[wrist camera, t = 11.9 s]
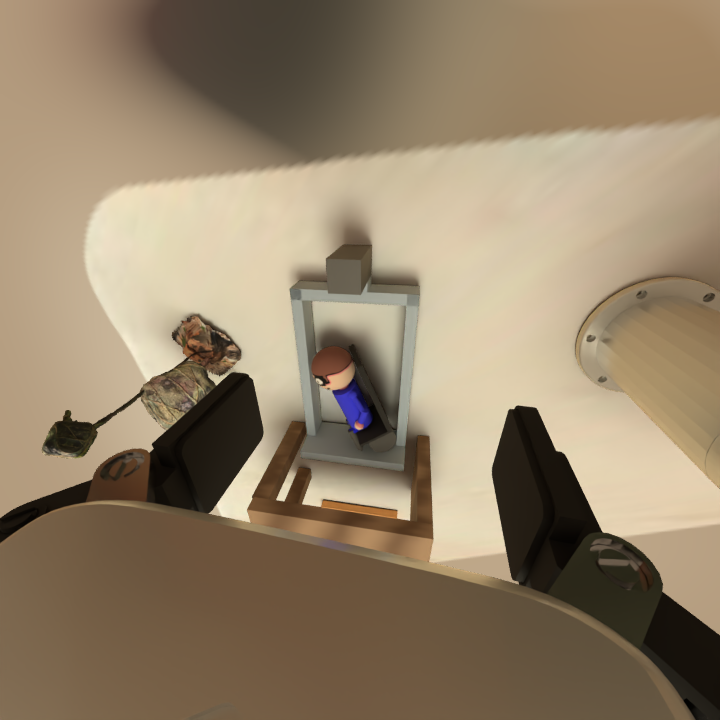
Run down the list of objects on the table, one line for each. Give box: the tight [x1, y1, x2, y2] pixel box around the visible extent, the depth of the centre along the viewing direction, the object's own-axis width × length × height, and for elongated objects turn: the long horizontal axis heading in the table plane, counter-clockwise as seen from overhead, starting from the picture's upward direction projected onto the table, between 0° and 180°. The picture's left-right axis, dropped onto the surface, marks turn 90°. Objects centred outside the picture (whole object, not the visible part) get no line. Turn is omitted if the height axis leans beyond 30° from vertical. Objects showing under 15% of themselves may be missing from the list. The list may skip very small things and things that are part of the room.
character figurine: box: [311, 345, 396, 453], centre depth 38 cm, size 8×7×15 cm
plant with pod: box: [42, 316, 241, 458], centre depth 34 cm, size 8×11×20 cm
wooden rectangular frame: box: [321, 500, 397, 519], centre depth 54 cm, size 13×5×1 cm, turn 90°
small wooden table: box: [247, 421, 433, 562], centre depth 42 cm, size 20×12×15 cm, turn 90°
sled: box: [290, 245, 420, 471], centre depth 35 cm, size 13×26×7 cm, turn 0°
